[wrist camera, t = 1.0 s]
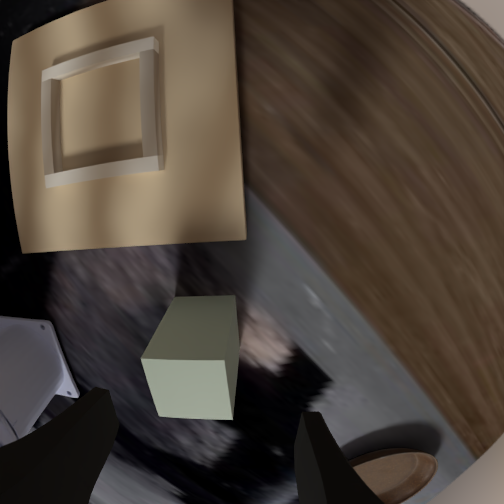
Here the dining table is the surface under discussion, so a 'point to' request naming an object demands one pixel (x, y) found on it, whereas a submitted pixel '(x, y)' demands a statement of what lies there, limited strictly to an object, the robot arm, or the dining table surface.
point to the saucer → (395, 472)
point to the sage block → (195, 358)
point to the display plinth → (127, 127)
